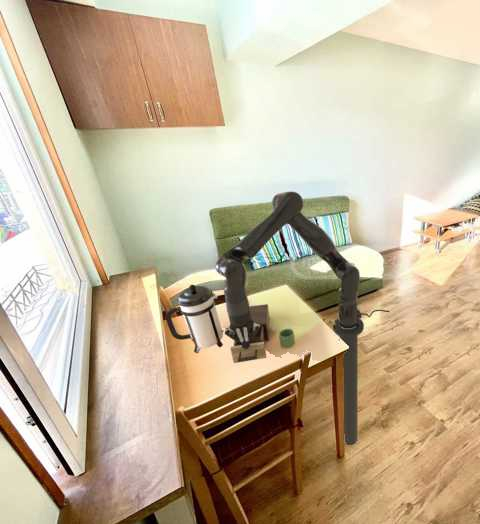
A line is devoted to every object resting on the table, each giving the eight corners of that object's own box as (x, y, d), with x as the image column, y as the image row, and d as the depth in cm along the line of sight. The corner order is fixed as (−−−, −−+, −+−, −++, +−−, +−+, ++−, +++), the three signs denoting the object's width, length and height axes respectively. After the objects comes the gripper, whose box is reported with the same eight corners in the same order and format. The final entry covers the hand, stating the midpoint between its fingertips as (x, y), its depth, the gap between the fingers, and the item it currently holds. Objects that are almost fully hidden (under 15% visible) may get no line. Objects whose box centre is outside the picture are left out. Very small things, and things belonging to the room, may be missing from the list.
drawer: (265, 366, 109) (263, 351, 106) (231, 372, 106) (228, 357, 103) (267, 334, 127) (265, 321, 124) (238, 339, 125) (235, 325, 122)
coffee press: (211, 326, 133) (194, 271, 119) (234, 337, 126) (220, 280, 112) (176, 349, 120) (153, 291, 106) (200, 363, 113) (179, 303, 99)
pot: (294, 337, 127) (293, 327, 125) (295, 346, 121) (293, 336, 119) (280, 339, 125) (279, 329, 123) (280, 348, 120) (279, 338, 118)
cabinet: (269, 340, 125) (266, 323, 121) (236, 345, 122) (232, 328, 118) (270, 319, 140) (267, 304, 136) (241, 323, 137) (238, 307, 133)
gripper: (258, 301, 104) (264, 338, 111) (221, 306, 102) (229, 344, 108) (257, 312, 98) (263, 351, 105) (217, 317, 95) (226, 357, 102)
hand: (246, 347), depth 106 cm, fingers closed
